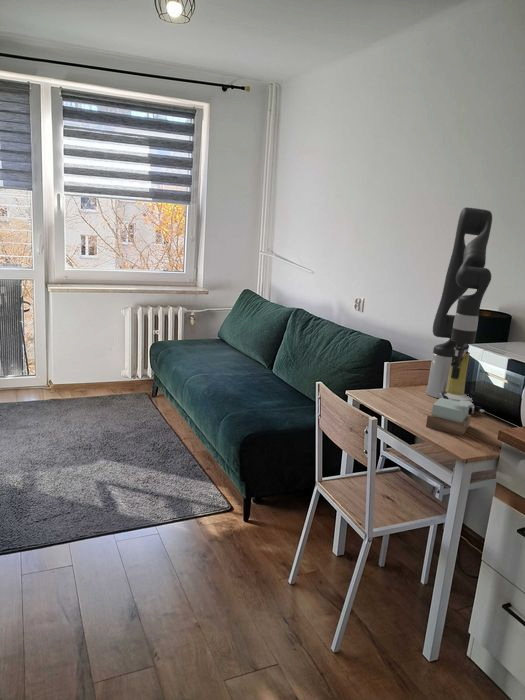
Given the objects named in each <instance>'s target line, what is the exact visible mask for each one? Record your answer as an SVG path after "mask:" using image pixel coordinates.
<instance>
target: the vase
mask: <svg viewBox="0 0 525 700" xmlns="http://www.w3.org/2000/svg"><path fill="white" fill-rule="evenodd" d="M462 355H463V354H462ZM470 355H471V354H470V352H469V351H468V352H467V354H464V360H463V362H461V367H460V370H459V376H458V379H453V378H451V374H452V368H453V367H452V366H451V367H450V372H449V377H448V382H447V387H446V390H445V391H446V392H447V393H450V394H453V395H463V394H465V389H466V387H465V386H466V378H467V372H468V366H469V360H470ZM461 358H462V356H461ZM451 363H452V361H451ZM455 363H456V364H458V361H455Z"/></svg>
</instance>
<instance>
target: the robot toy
mask: <svg viewBox="0 0 525 700" xmlns="http://www.w3.org/2000/svg"><path fill="white" fill-rule="evenodd" d="M440 395H441V393H440ZM467 395H468V394H466V393H464V394H463V395H453V394H450V393H447V394H445V395H444V396H443V397H442V395H441V397H442V398H444V399H449V400H453V401H458V402H462V403H466V404H470V406H469V411H468V414H474V412H478V413H485V410H484V409H482V407H481V406H479V405H474V401H473V400H474V399H473V398H472V397H471V398H470V397H469V396H467ZM472 399H473V400H472ZM472 402H473V403H472Z"/></svg>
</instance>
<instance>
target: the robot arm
mask: <svg viewBox="0 0 525 700" xmlns="http://www.w3.org/2000/svg"><path fill="white" fill-rule="evenodd" d="M492 223H493V213H492V212H491V210H488V209H484V208H483V209H481V208H475V207H468V206H467V207H463V209H461V211H460V214H459V217H458V221H457V226H456V233H455V237H454V242H453V243H454V244H453V248H452V252H451V257H450V260H449V263H448V267H447V271H446V275H445V278H444V279H445V280H444V283H443V289H442V294H441V298H440V301H439V304H438V308H437V309H436V313H435V316H434V321H433V324H432V325H433V326H432V334H433V336H435V337H437V338H445V339H448V340H447V341H445V342H442V343H440V344H436V345H434V346H433V349H432V356H431V363H430V369H429V374H428V375H429V376H428V382H427V388H426V395H427V396H429V397H432V398H435V399H439V398H442V397H443V396H444V395H445V394H447V392H446V391H445V390H446V387H447V382H448V377H449V372H450V367H451V366H452V367H453V368H452V374H451V378H453V379H458V376H459V370H460V367H461V362H463V360H464V354H467V352H469V348H470V345H471V344H475V341H476V336H477V332H478V331H477V330H478V326H479V325H478V323H479V314H480V310H481V309H480V308H481V304H482V300H483V297H484V296H485V293H486V291H487V289H488V287H489V285H490V283H491V281H492V273H491V271H490V269H489V268H487V267H486V260H487V258H486V257H487V247H488V243H489V239H490V234H491V230H492ZM466 235H470V236H476V237H475V238H473V239H472V240H470V242H468V243H467V245H466V243H465V242H466V241H465V236H466ZM468 289H471V290H476V291H474V293H473V294H468V295H467V294H466V295H465V293H466V292H467V291H468ZM455 302H457V303H456V304H457V305H456V312H455V314H454V315H453V314H448V313H449V311H450V310H451V307H453V305H454V304H455ZM462 354H463V355H462ZM461 356H462V358H461ZM451 361H452V363H451ZM455 361H458V364H456V363H455ZM440 393H441V395H442V397H441V395H440Z"/></svg>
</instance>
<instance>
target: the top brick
mask: <svg viewBox="0 0 525 700" xmlns="http://www.w3.org/2000/svg"><path fill="white" fill-rule="evenodd" d="M469 406H470V404H466V403H462V402H458V401H453V400H449V399H444V398H437V400H436V401H435V402H434V403H433V404H432V409H431V412H432V414H431V416H435V417H439V418H443V419H447V420H452V421H456V422H460V423H462V422H463V421H464V419H465V418H466V417H467V416H468V415H469V413H468V411H469Z"/></svg>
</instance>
